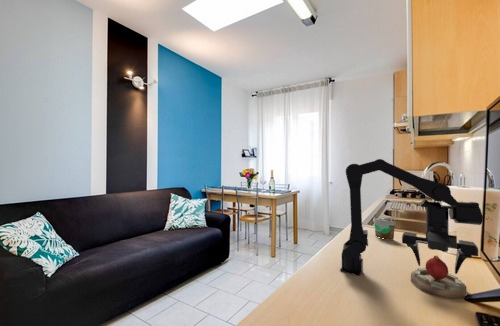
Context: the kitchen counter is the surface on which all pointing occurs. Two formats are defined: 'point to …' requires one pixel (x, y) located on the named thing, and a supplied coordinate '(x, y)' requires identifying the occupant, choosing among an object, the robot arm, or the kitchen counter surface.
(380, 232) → the food container
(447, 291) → the display stand
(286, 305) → the kitchen counter surface
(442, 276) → the pomegranate
